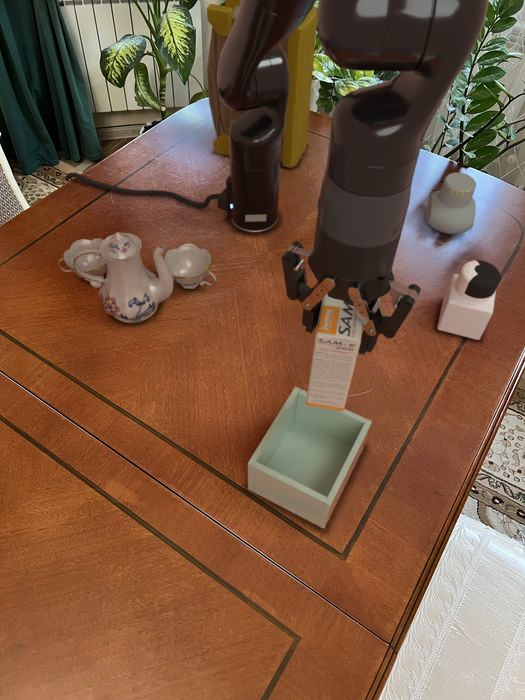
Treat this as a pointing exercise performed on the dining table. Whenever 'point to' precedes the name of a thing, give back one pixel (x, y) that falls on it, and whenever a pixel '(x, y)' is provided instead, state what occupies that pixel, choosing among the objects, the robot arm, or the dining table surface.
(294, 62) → the decorative book
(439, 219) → the air freshener
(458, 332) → the bust figurine
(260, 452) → the holder
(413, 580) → the dining table surface
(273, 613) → the dining table surface
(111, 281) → the chinaware
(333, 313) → the supplement box
